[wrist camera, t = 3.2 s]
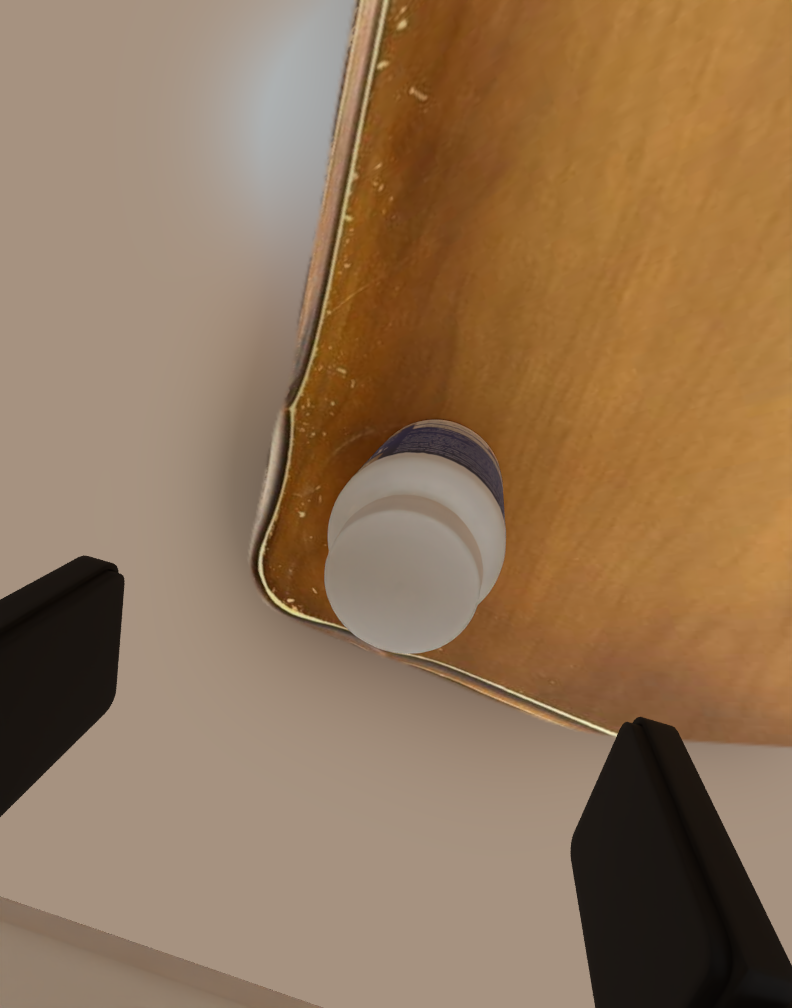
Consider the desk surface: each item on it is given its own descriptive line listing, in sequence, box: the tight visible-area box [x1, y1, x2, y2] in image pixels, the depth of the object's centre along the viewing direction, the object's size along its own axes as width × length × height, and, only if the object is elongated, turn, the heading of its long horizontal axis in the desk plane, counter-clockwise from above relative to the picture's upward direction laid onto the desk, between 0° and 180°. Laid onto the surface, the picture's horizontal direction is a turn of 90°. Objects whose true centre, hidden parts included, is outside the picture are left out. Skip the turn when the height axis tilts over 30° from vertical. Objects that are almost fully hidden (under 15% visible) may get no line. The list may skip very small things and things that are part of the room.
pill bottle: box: [324, 420, 506, 654], centre depth 18 cm, size 5×5×10 cm
